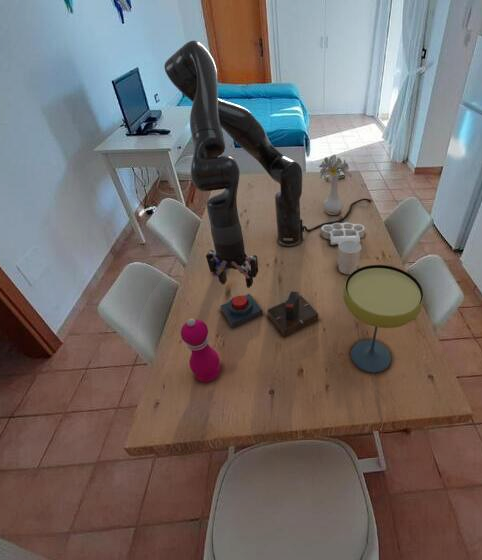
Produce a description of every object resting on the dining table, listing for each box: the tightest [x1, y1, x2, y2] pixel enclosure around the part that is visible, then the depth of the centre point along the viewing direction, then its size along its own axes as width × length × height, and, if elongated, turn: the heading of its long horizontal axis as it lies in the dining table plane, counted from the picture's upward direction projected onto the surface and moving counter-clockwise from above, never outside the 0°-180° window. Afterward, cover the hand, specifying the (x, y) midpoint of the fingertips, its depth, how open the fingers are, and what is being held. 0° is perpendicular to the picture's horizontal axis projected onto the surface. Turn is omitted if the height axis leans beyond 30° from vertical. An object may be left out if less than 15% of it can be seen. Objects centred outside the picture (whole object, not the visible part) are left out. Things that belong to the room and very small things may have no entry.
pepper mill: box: [180, 317, 221, 383], centre depth 80 cm, size 7×7×20 cm
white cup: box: [337, 240, 362, 275], centre depth 117 cm, size 8×8×10 cm
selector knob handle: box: [285, 290, 300, 320], centre depth 98 cm, size 7×2×5 cm, turn 169°
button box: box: [219, 293, 264, 329], centre depth 102 cm, size 10×9×4 cm
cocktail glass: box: [342, 264, 425, 374], centre depth 83 cm, size 18×18×25 cm
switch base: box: [266, 294, 319, 338], centre depth 100 cm, size 12×11×3 cm
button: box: [232, 295, 248, 309], centre depth 100 cm, size 4×4×2 cm
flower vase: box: [318, 154, 351, 216], centre depth 145 cm, size 13×18×25 cm
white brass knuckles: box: [320, 222, 366, 246], centre depth 136 cm, size 3×18×15 cm
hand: (236, 284), depth 95 cm, fingers open, 7 cm apart
